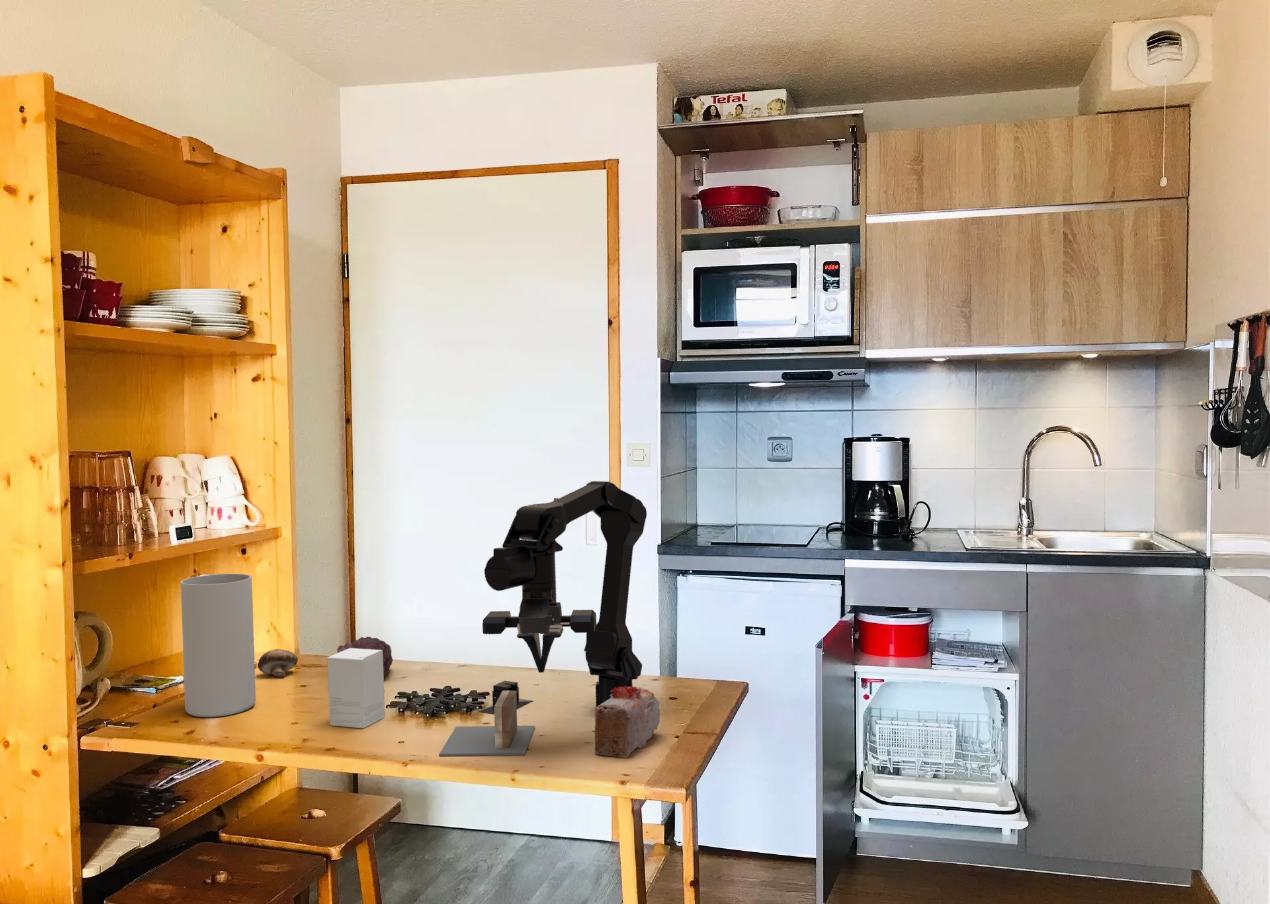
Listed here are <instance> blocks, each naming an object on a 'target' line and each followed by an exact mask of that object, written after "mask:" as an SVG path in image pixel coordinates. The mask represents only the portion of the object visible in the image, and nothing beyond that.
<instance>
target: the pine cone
mask: <svg viewBox="0 0 1270 904" xmlns="http://www.w3.org/2000/svg"><path fill="white" fill-rule="evenodd" d="M349 648H356V649H371V650H383V674H384V675H385V674H386V673H387V672H388V671H389V670H390V668H391V667H392V665H393V661H394V659H393V655H392V648H391V645H390V644H388V643H387V642H386V641H384V640H381V639H379V638H377V637H371V636H366V637H362V636H361V637H360V638H358V639H356V640H354V641H353V642H350V641H349V640H348V641H347V642H346V643H345V644H344V645H338V646H337V650H336V651H337V652H336V653H339V652H342V651H344V650H347V649H349Z"/></svg>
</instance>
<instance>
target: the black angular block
mask: <svg viewBox="0 0 1270 904" xmlns="http://www.w3.org/2000/svg"><path fill="white" fill-rule="evenodd" d="M502 691H516V696H517V710H519V709H520V708H523V707H525V706H527V705H529V704H530V703H533V702H534V700H533V699H532V700H531V699H523V698H520V688H519V683H518V682H517V681H511V680H503V681H501V682H499V683H496V684H494V685H492V691H491V693H492V694H491V696H492V697H491V698H492V704H491V705H489V706H486V707H484V708H482V709H479V710H477V711H476V713H481V714H487V715H492V716H493V715H494V706H495V704H496V702H497V700H498V698H499V697H500V695H501V693H502Z"/></svg>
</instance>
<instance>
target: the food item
mask: <svg viewBox="0 0 1270 904" xmlns="http://www.w3.org/2000/svg"><path fill="white" fill-rule="evenodd" d="M611 693H612V694H611V695H610V696H611V698H610V699H609V700H607V701H605V702H604V703H602V704H600V705H599V706H598V707H596V706H595V708H594V709H595V711H594V751H595V754H597V755H600V756H602V757H603V756H606V757H615V758H617V757H618V758H621V759H627V758H628V757H629V756H630V755H631V753H633V752H634V751H635V749H643V748H645V747H646V745H647V743H648V742H647V741H649V740H651V739H650V738H652V736H653V735H654V733H655V730H658V726H659V724H660V718H661V717H660V715H661V712H660V703H661V701H660V700H658V699H657V698H656V696H655V694H654V693H653V691H650V689H646V688H644V687H641V686H633V687H626V686H624V687H618V688H616V687H615V689H613V690H611Z"/></svg>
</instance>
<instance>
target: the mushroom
mask: <svg viewBox="0 0 1270 904" xmlns="http://www.w3.org/2000/svg"><path fill="white" fill-rule="evenodd" d="M298 661H299V658H298V656H297V654H295V653H294V652H293V651H291V650H287V649H278V648H275V649H271V650H268V651H266V652H265V653H263V654H262V655H261V657H260V658H259V659H258V663H257V669H258V670H259V671H260V672H261V673H263V674H267V675H269V674H271V675H272V676H275V677H278V678H283V677H286V676H287V675H286V672H288V671H289V670H290V671H291V670H292V669H293V668H295V667H296V665H297V663H298Z"/></svg>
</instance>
